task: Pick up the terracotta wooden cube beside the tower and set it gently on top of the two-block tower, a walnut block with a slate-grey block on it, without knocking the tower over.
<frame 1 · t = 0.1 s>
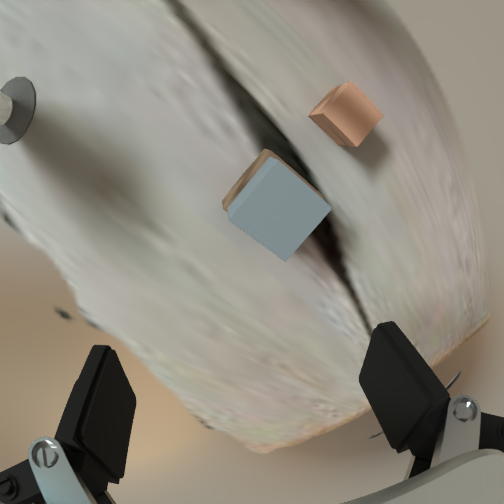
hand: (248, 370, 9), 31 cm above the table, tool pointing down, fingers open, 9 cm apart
tower base: (268, 194, 39), on the table, touching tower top
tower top: (273, 202, 34), point 5 cm above the table, touching tower base
terracotta cube: (336, 115, 35), on the table
cup: (12, 110, 27), on the table
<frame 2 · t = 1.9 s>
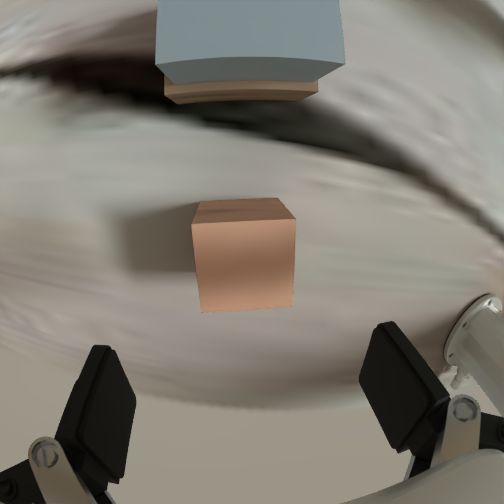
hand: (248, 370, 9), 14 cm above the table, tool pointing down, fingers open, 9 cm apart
tower base: (237, 47, 17), on the table
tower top: (243, 23, 12), point 5 cm above the table
terracotta cube: (240, 236, 23), on the table
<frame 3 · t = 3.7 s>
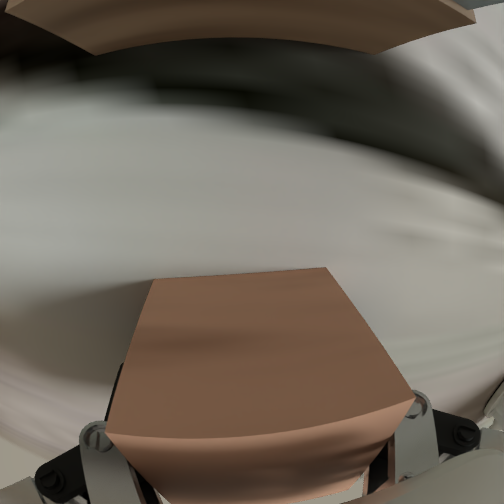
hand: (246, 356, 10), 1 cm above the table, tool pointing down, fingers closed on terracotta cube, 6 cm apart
terracotta cube: (244, 341, 11), on the table, touching gripper
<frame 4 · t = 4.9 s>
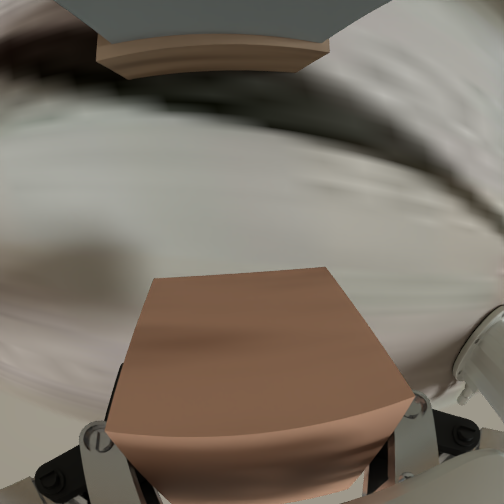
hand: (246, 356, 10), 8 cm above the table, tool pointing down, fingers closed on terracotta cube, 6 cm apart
tower base: (212, 4, 11), on the table, touching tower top
terracotta cube: (244, 340, 11), point 7 cm above the table, touching gripper
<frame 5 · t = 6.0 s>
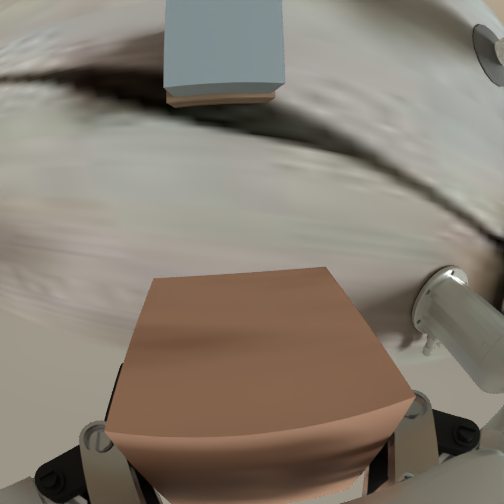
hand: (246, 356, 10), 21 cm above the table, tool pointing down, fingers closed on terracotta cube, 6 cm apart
tower base: (219, 63, 23), on the table, touching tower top
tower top: (222, 50, 19), point 5 cm above the table, touching tower base
terracotta cube: (244, 340, 11), point 20 cm above the table, touching gripper
cup: (491, 55, 23), on the table
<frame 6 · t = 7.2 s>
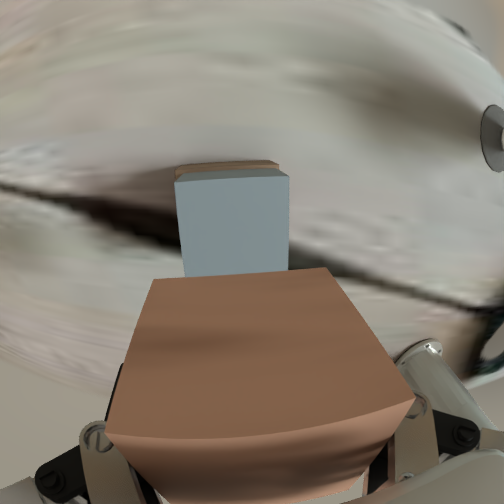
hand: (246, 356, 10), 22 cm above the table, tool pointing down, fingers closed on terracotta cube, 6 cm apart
tower base: (227, 203, 30), on the table, touching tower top
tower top: (231, 214, 25), point 5 cm above the table, touching tower base
terracotta cube: (244, 341, 11), point 21 cm above the table, touching gripper
cup: (497, 138, 29), on the table
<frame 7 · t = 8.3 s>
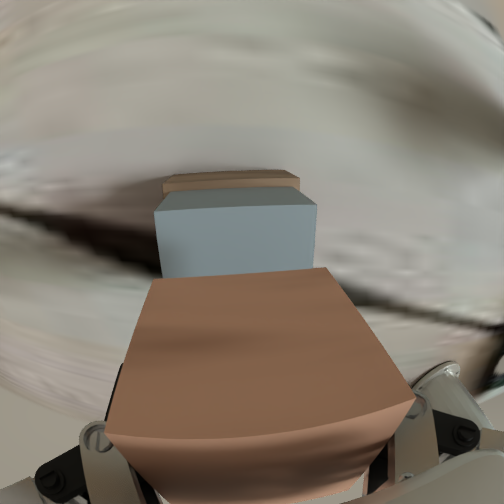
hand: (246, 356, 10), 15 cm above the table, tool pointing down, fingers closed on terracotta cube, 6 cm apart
tower base: (230, 223, 24), on the table
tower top: (233, 245, 20), point 5 cm above the table
terracotta cube: (244, 341, 11), point 14 cm above the table, touching gripper
when the fingers open (12 cm above the table, at t = 9.7 s): terracotta cube drops 2 cm, point 10 cm above the table.
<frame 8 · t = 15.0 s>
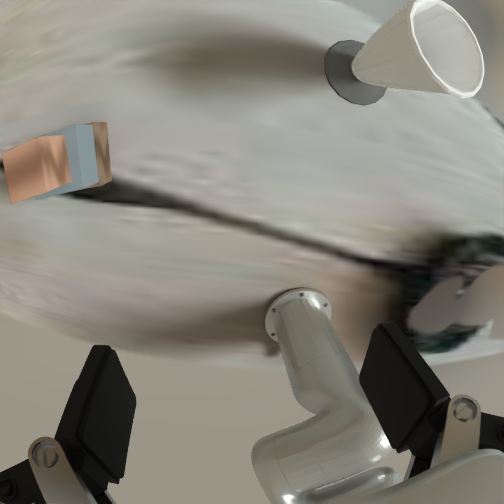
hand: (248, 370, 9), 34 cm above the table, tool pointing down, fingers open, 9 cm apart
tower base: (84, 156, 36), on the table, touching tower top
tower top: (71, 159, 31), point 5 cm above the table, touching tower base
terracotta cube: (49, 164, 27), point 10 cm above the table
cup: (357, 71, 35), on the table
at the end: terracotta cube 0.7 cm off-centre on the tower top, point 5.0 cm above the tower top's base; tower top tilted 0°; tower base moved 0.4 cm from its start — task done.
